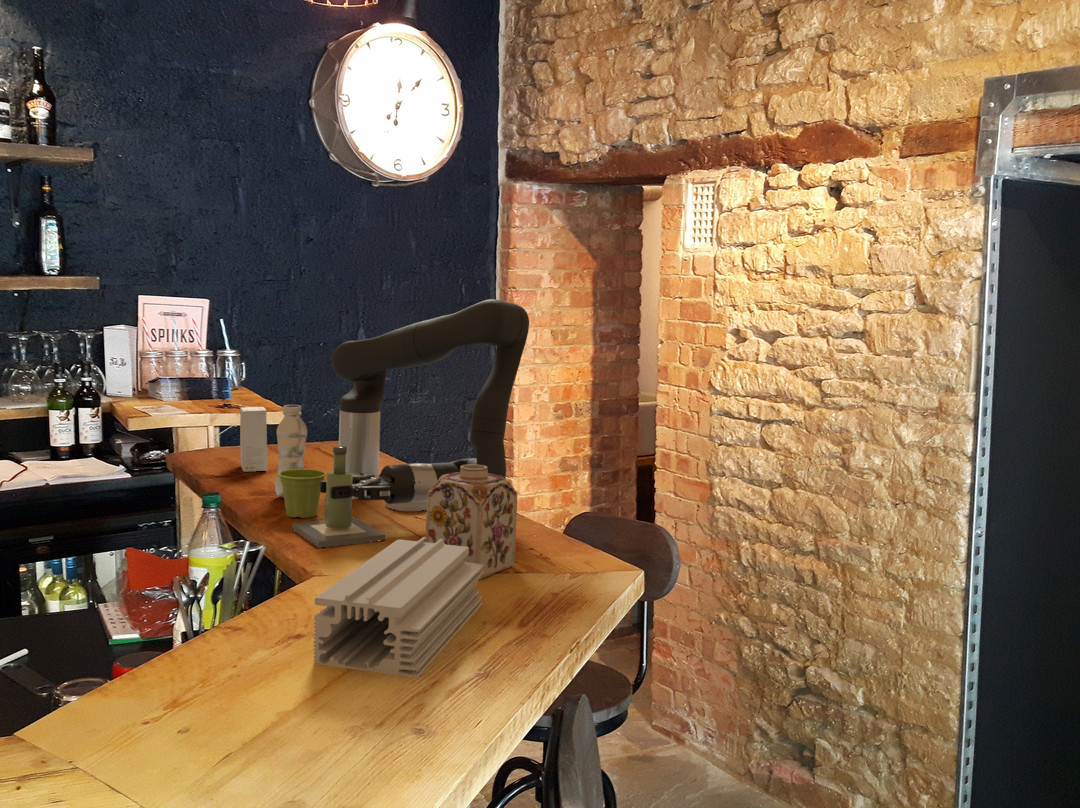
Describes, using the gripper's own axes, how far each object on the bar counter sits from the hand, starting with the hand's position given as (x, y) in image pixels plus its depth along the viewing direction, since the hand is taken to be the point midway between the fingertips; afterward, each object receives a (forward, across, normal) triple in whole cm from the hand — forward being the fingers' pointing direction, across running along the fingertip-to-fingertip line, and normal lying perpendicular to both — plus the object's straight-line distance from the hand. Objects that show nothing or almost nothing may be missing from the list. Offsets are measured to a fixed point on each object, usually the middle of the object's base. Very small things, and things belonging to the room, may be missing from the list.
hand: (326, 490), depth 195 cm
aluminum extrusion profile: (+8, +51, +10) cm, 53 cm away
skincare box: (-7, -64, +9) cm, 65 cm away
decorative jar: (-16, +28, +9) cm, 33 cm away
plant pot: (-2, -17, +9) cm, 19 cm away
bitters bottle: (-3, 0, +7) cm, 7 cm away
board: (-3, 0, +9) cm, 9 cm away
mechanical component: (-25, -16, +10) cm, 32 cm away
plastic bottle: (-5, -32, +9) cm, 34 cm away
